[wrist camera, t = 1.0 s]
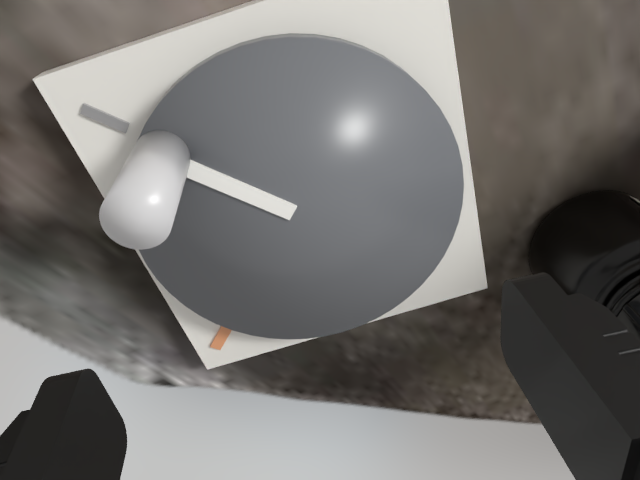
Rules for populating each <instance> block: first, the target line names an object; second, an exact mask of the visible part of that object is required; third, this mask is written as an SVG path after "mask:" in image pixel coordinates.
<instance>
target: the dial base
mask: <svg viewBox="0 0 640 480" xmlns="http://www.w3.org/2000/svg"><path fill="white" fill-rule="evenodd" d="M288 33H299V34H318V35H324V36H330V37H336V38H341V39H344V40H347V41H350V42H353V43H357V44H360V45H363V46H365V47H367V48H369V49H371V50H373V51H375V52H377V53H379V54H381V55H383V56H385V57H386V58H388V59H389V60H391V61H392V62H394V63H395V64H397V65H398V66H400V67H401V68H402V69H403V70H405V71H406V72H407V73H408V74H409V75H410V76H411V77H412V78H413V79H414V80H415V81H417V82H418V83H419V84H420V85H421V86H422V87H423V88H424V89H425V90H426V91H427V93H428V94H429V95H430V96H431V98H432V99H433V100H434V101H435V103H436V104H437V105H438V106H439V108H440V109H441V111H442V113H443V114H444V116H445V118H446V119H447V121H448V123H449V125H450V126H451V129H452V131H453V134H454V136H455V139H456V142H457V144H458V147H459V152H460V156H461V161H462V165H463V178H464V191H463V204H462V209H461V214H460V218H459V223H458V225H457V228H456V231H455V234H454V237H453V239H452V241H451V243H450V245H449V247H448V249H447V251H446V253H445V255H444V257H443V258H442V260H441V261H440V263H439V264H438V266H437V267H436V269H435V270H434V272H433V273H432V274H431V275H430V276H429V277H428V278H427V280H426V281H425V282H424V283H423V284H422V285H421V286H420V287H419V288H418V289H417V290H416V291H415V292H414V293H413V294H412V295H411V296H409V297H408V298H407V299H406V300H404V301H403V302H402V303H400V304H399V305H398V306H396V307H395V308H394V309H392V310H390V311H389V312H387V313H385V314H384V315H382V316H380V317H378V318H377V319H374V320H372V321H370V322H373V321H376V320H380V319H383V318H386V317H390V316H393V315H397V314H400V313H404V312H407V311H411V310H414V309H417V308H421V307H424V306H428V305H431V304H435V303H438V302H442V301H445V300H448V299H452V298H455V297H459V296H462V295H466V294H469V293H473V292H476V291H479V290H483V289H486V288H488V287H487V280H486V272H485V265H484V258H483V251H482V243H481V236H480V229H479V222H478V214H477V207H476V200H475V193H474V185H473V178H472V171H471V164H470V156H469V149H468V142H467V135H466V127H465V120H464V113H463V106H462V98H461V91H460V84H459V77H458V69H457V62H456V55H455V48H454V40H453V33H452V26H451V19H450V11H449V4H448V0H253V1H250V2H247V3H244V4H241V5H238V6H236V7H233V8H230V9H227V10H224V11H221V12H218V13H215V14H212V15H209V16H206V17H203V18H200V19H197V20H194V21H191V22H189V23H186V24H183V25H180V26H177V27H174V28H171V29H168V30H165V31H162V32H159V33H156V34H153V35H150V36H147V37H144V38H142V39H139V40H136V41H133V42H130V43H127V44H124V45H121V46H118V47H115V48H112V49H109V50H106V51H103V52H100V53H97V54H95V55H92V56H89V57H86V58H83V59H80V60H77V61H74V62H71V63H68V64H65V65H62V66H59V67H56V68H53V69H50V70H48V71H45V72H42V73H41V74H39V75H38V76H36V77H35V78H33V81H34V83H35V84H36V86H37V88H38V89H39V91H40V93H41V94H42V96H43V98H44V99H45V101H46V103H47V104H48V106H49V108H50V109H51V111H52V113H53V114H54V116H55V118H56V119H57V121H58V123H59V124H60V126H61V128H62V129H63V131H64V132H65V134H66V136H67V137H68V139H69V141H70V142H71V144H72V146H73V147H74V149H75V151H76V152H77V154H78V156H79V157H80V159H81V161H82V162H83V164H84V166H85V167H86V169H87V171H88V172H89V174H90V176H91V177H92V179H93V181H94V182H95V184H96V186H97V187H98V189H99V191H100V192H101V194H102V196H103V197H104V199H105V197H106V196H107V194H108V192H109V190H110V189H111V187H112V185H113V183H114V181H115V180H116V178H117V176H118V174H119V173H120V171H121V169H122V167H123V165H124V164H125V162H126V160H127V158H128V157H129V155H130V153H131V151H132V149H133V148H134V146H135V144H136V142H137V140H138V138H139V136H140V134H141V132H142V130H143V127H144V125H145V123H146V122H147V120H148V118H149V116H150V115H151V113H152V112H153V110H154V109H155V107H156V106H157V104H158V103H159V101H160V100H161V98H162V97H163V96H164V95H165V93H166V92H167V91H168V90H169V89H170V88H171V87H172V86H173V85H174V84H175V83H176V82H177V80H178V79H180V78H181V77H182V76H183V75H184V74H186V73H187V72H188V71H189V70H191V69H192V68H193V67H194V66H196V65H197V64H198V63H200V62H202V61H203V60H205V59H207V58H209V57H210V56H212V55H214V54H215V53H217V52H219V51H221V50H224V49H226V48H229V47H231V46H233V45H236V44H238V43H241V42H244V41H248V40H252V39H256V38H260V37H264V36H271V35H279V34H288ZM135 250H136V252H137V254H138V255H139V257H140V259H141V260H142V262H143V264H144V265H145V267H146V268H147V270H148V272H149V273H150V275H151V277H152V278H153V280H154V282H155V283H156V285H157V287H158V288H159V290H160V292H161V293H162V295H163V297H164V298H165V300H166V302H167V303H168V305H169V307H170V308H171V310H172V312H173V313H174V315H175V317H176V318H177V320H178V322H179V323H180V325H181V327H182V328H183V330H184V332H185V333H186V335H187V336H188V338H189V340H190V341H191V343H192V345H193V346H194V348H195V350H196V351H197V353H198V355H199V356H200V358H201V360H202V361H203V363H204V365H205V366H206V368H207V370H208V369H211V368H214V367H218V366H221V365H225V364H228V363H232V362H235V361H239V360H242V359H245V358H249V357H252V356H256V355H259V354H263V353H266V352H269V351H273V350H276V349H280V348H283V347H287V346H290V345H294V344H297V343H300V342H304V341H307V340H311V339H314V338H308V339H272V338H264V337H258V336H252V335H248V334H244V333H240V332H237V331H233V330H230V329H228V328H225V327H222V326H220V325H217V324H215V323H213V322H211V321H209V320H207V319H205V318H203V317H201V316H199V315H198V314H196V313H195V312H193V311H192V310H190V309H189V308H187V307H186V306H184V305H183V304H182V303H181V302H179V301H178V300H177V299H176V298H175V297H174V296H172V295H171V294H170V293H169V292H168V291H167V290H166V289H165V288H164V286H163V285H162V284H161V283H160V282H159V281H158V280H157V279H156V277H155V276H154V275H153V273H152V272H151V270H150V269H149V267H148V266H147V264H146V263H145V261H144V259H143V257H142V255H141V253H140V251H139V250H138V249H135ZM368 323H369V322H368ZM316 338H318V337H316Z"/></svg>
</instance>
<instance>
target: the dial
mask: <svg viewBox="0 0 640 480" xmlns="http://www.w3.org/2000/svg"><path fill="white" fill-rule="evenodd" d="M463 191H464V178H463V165H462V161H461V156H460V152H459V147H458V144H457V142H456V139H455V136H454V134H453V131H452V129H451V126H450V125H449V123H448V121H447V119H446V118H445V116H444V114H443V113H442V111H441V109H440V108H439V106H438V105H437V104H436V103H435V101H434V100H433V99H432V98H431V96H430V95H429V94H428V93H427V91H426V90H425V89H424V88H423V87H422V86H421V85H420V84H419V83H418V82H417V81H415V80H414V79H413V78H412V77H411V76H410V75H409V74H408V73H407V72H406V71H405V70H403V69H402V68H401V67H400V66H398V65H397V64H395V63H394V62H392V61H391V60H389V59H388V58H386V57H385V56H383V55H381V54H379V53H377V52H375V51H373V50H371V49H369V48H367V47H365V46H363V45H360V44H357V43H353V42H350V41H347V40H344V39H341V38H336V37H330V36H324V35H318V34H299V33H288V34H279V35H271V36H264V37H260V38H256V39H252V40H248V41H244V42H241V43H238V44H236V45H233V46H231V47H229V48H226V49H224V50H221V51H219V52H217V53H215V54H214V55H212V56H210V57H209V58H207V59H205V60H203V61H202V62H200V63H198V64H197V65H196V66H194V67H193V68H192V69H191V70H189V71H188V72H187V73H186V74H184V75H183V76H182V77H181V78H180V79H178V80H177V82H176V83H175V84H174V85H173V86H172V87H171V88H170V89H169V90H168V91H167V92H166V93H165V95H164V96H163V97H162V98H161V100H160V101H159V103H158V104H157V106H156V107H155V109H154V110H153V112H152V113H151V115H150V116H149V118H148V120H147V122H146V123H145V125H144V127H143V130H142V132H141V134H140V136H139V138H138V140H137V142H136V144H135V146H134V148H133V149H132V151H131V153H130V155H129V157H128V158H127V160H126V162H125V164H124V165H123V167H122V169H121V171H120V173H119V174H118V176H117V178H116V180H115V181H114V183H113V185H112V187H111V189H110V190H109V192H108V194H107V196H106V197H105V199H104V201H103V203H102V205H101V207H100V211H99V220H100V224H101V226H102V228H103V230H104V232H105V233H106V234H107V235H108V236H109V237H110V238H111V239H112V240H113V241H115V242H116V243H118V244H120V245H122V246H124V247H127V248H131V249H138V250H139V251H140V253H141V255H142V257H143V259H144V261H145V263H146V264H147V266H148V267H149V269H150V270H151V272H152V273H153V275H154V276H155V277H156V279H157V280H158V281H159V282H160V283H161V284H162V285H163V286H164V288H165V289H166V290H167V291H168V292H169V293H170V294H171V295H172V296H174V297H175V298H176V299H177V300H178V301H179V302H181V303H182V304H183V305H184V306H186V307H187V308H189V309H190V310H192V311H193V312H195V313H196V314H198V315H199V316H201V317H203V318H205V319H207V320H209V321H211V322H213V323H215V324H217V325H220V326H222V327H225V328H228V329H230V330H233V331H237V332H240V333H244V334H248V335H252V336H258V337H264V338H272V339H308V338H316V337H323V336H328V335H332V334H336V333H341V332H344V331H347V330H350V329H353V328H356V327H359V326H361V325H364V324H366V323H368V322H370V321H372V320H374V319H377V318H378V317H380V316H382V315H384V314H385V313H387V312H389V311H390V310H392V309H394V308H395V307H396V306H398V305H399V304H400V303H402V302H403V301H404V300H406V299H407V298H408V297H409V296H411V295H412V294H413V293H414V292H415V291H416V290H417V289H418V288H419V287H420V286H421V285H422V284H423V283H424V282H425V281H426V280H427V278H428V277H429V276H430V275H431V274H432V273H433V272H434V270H435V269H436V267H437V266H438V264H439V263H440V261H441V260H442V258H443V257H444V255H445V253H446V251H447V249H448V247H449V245H450V243H451V241H452V239H453V237H454V234H455V231H456V228H457V225H458V223H459V218H460V214H461V209H462V204H463Z"/></svg>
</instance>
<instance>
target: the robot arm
mask: <svg viewBox="0 0 640 480" xmlns="http://www.w3.org/2000/svg"><path fill="white" fill-rule="evenodd" d="M501 347H502V351H503V355H504V358H505V361H506V363H507V365H508V367H509V369H510V371H511V373H512V374H513V376H514V378H515V379H516V381H517V383H518V384H519V386H520V388H521V389H522V391H523V393H524V394H525V396H526V398H527V399H528V401H529V403H530V404H531V406H532V408H533V409H534V411H535V413H536V414H537V416H538V418H539V419H540V421H541V423H542V424H543V426H544V428H545V429H546V431H547V433H548V434H549V436H550V438H551V439H552V441H553V443H554V444H555V446H556V448H557V449H558V451H559V453H560V454H561V456H562V458H563V459H564V461H565V463H566V464H567V466H568V468H569V469H570V471H571V472H572V474H573V475H574V477H575V479H576V480H640V341H639V340H638V339H637V338H636V337H635V336H634V335H633V334H632V333H629V332H628V330H627V328H626V326H625V325H624V324H623V323H622V322H621V321H620V320H619V319H618V318H617V317H616V316H615V315H614V314H613V313H612V312H611V311H610V310H609V309H608V308H607V307H605V306H603V305H602V304H600V303H598V302H596V301H594V300H593V299H591V298H589V297H587V296H585V295H583V294H582V293H576V294H572V295H567V294H566V293H565V292H564V290H563V289H562V288H561V287H560V286H559V285H558V284H557V283H556V281H555V280H554V279H553V278H552V277H551V276H550V275H549V274H547V273H538V274H534V275H529V276H524V277H520V278H515V279H510V280H506V281H505V282H504V284H503V287H502V309H501ZM126 448H127V434H126V428H125V424H124V422H123V419H122V417H121V415H120V413H119V412H118V410H117V408H116V407H115V405H114V403H113V401H112V400H111V398H110V396H109V395H108V393H107V391H106V389H105V388H104V386H103V384H102V383H101V381H100V379H99V377H98V376H97V375H96V373H95V372H94V371H93V370H91V369H84V370H79V371H75V372H70V373H66V374H61V375H56V376H51V377H48V378H47V379H45V380H44V382H43V383H42V385H41V387H40V389H39V391H38V394H37V396H36V398H35V400H34V403H33V405H32V407H31V409H30V410H26V411H22V412H21V413H20V414H19V415H18V416H17V417H16V418H15V420H14V421H13V422H12V423H11V424H10V425H9V427H8V428H7V429H6V430H5V431H4V432H3V434H2V435H1V436H0V480H120V476H121V472H122V468H123V463H124V459H125V454H126Z"/></svg>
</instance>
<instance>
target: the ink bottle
mask: <svg viewBox="0 0 640 480" xmlns="http://www.w3.org/2000/svg"><path fill="white" fill-rule="evenodd" d="M529 265H530V269H531V272H532V274H533V275H534V274H538V273H547V274H549V275H550V276H551V277H552V278H553V279H554V280H555V281H556V283H557V284H558V285H559V286H560V287H561V288H562V289H563V290H564V292H565V293H566V294H567V295H572V294H576V293H582V294H583V295H585V296H587V297H589V298H591V299H593V300H594V301H596V302H598V303H600V304H602V305H603V306H605V307H607V308H608V309H609V310H610V311H611V312H612V313H613V314H614V315H615V316H616V317H617V318H618V319H619V320H620V321H621V322H622V323H623V324H624V325H625V326H626V328H627V330H628V332H629V333H632V334H633V335H634V336H635V337H636V338H637V339H638V340H639V341H640V201H639V200H638V199H637V198H635V197H633V196H631V195H629V194H627V193H624V192H620V191H612V190H603V191H595V192H590V193H586V194H583V195H580V196H577V197H575V198H572V199H570V200H568V201H566V202H565V203H563V204H561V205H560V206H558V207H557V208H556V209H554V210H553V211H552V212H551V213H550V214H549V215H548V216H547V217H546V218H545V219H544V220H543V222H542V223H541V225H540V226H539V228H538V229H537V231H536V233H535V235H534V237H533V240H532V243H531V246H530V251H529Z"/></svg>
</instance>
